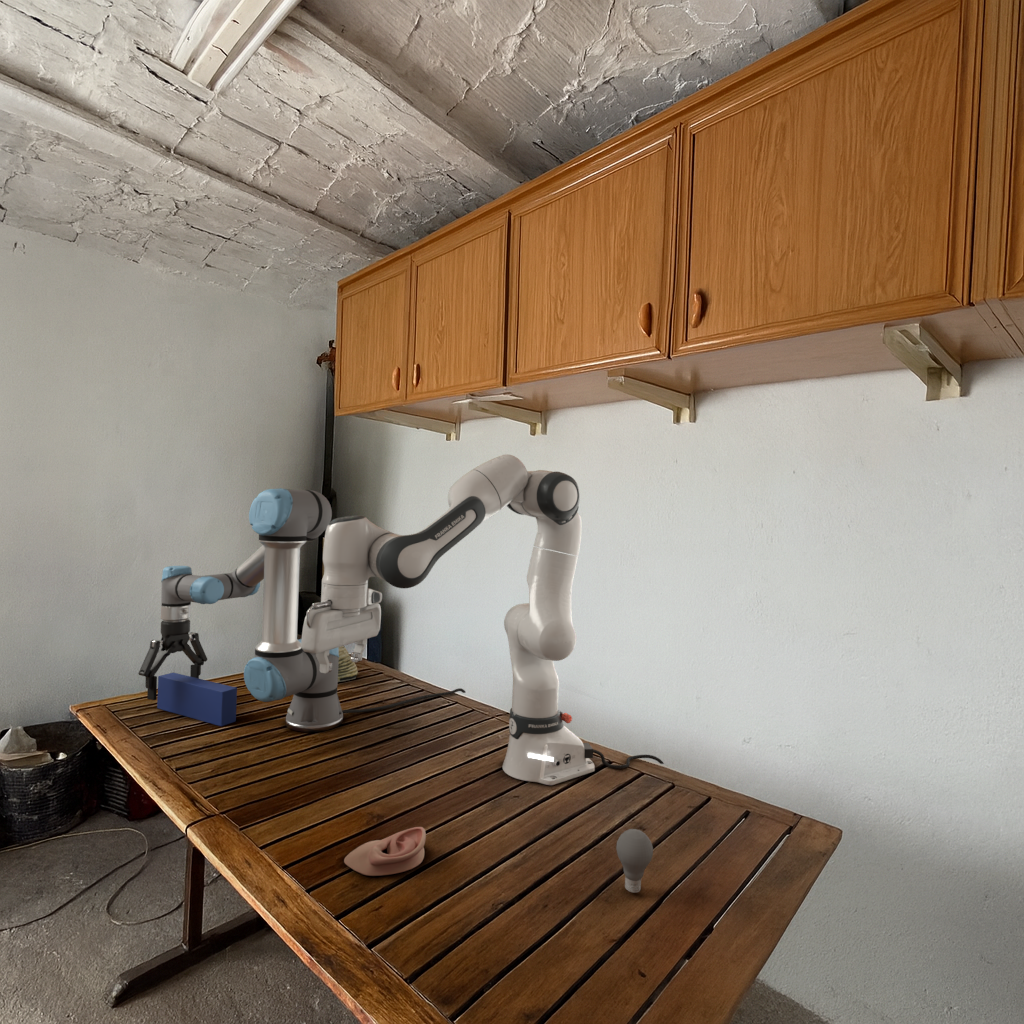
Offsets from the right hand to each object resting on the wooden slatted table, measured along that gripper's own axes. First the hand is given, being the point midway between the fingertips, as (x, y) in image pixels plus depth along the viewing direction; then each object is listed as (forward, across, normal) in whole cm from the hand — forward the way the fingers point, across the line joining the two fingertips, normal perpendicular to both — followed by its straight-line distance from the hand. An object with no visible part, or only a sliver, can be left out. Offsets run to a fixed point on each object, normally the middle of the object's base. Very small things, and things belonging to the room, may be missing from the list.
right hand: (341, 666), depth 126 cm
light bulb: (+30, +3, -59) cm, 66 cm away
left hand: (+26, +27, +80) cm, 89 cm away
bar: (+30, +26, +71) cm, 81 cm away
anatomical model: (+30, -8, -18) cm, 36 cm away
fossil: (+30, +72, +61) cm, 99 cm away
